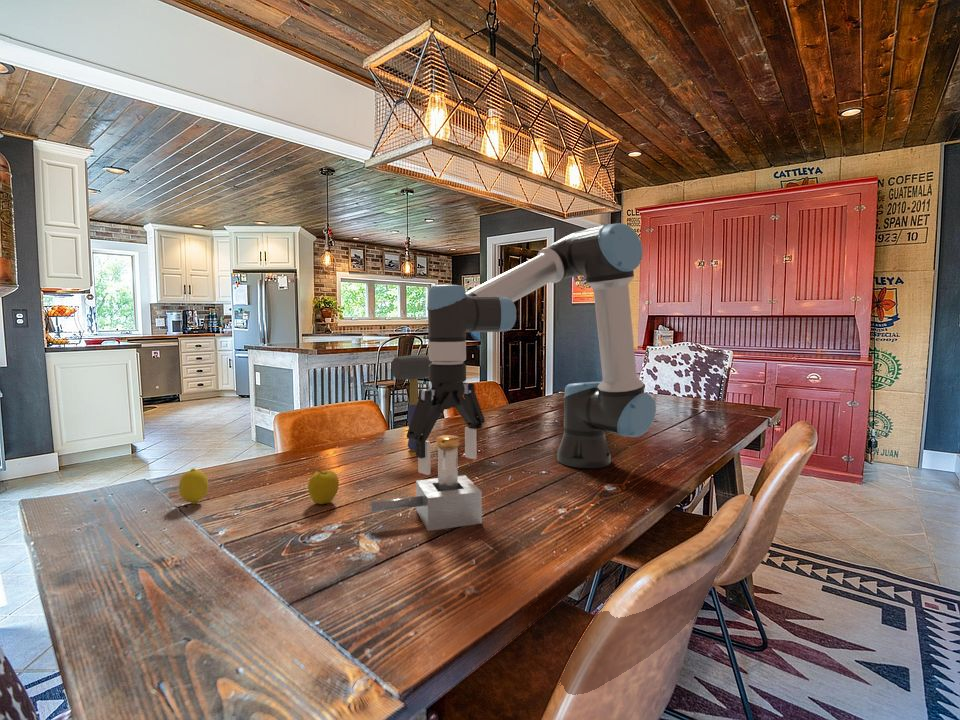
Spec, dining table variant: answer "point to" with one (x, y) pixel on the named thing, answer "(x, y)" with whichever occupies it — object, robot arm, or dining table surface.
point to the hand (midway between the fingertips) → (448, 465)
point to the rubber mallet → (411, 380)
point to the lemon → (193, 486)
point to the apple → (323, 486)
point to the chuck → (440, 504)
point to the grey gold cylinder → (447, 462)
